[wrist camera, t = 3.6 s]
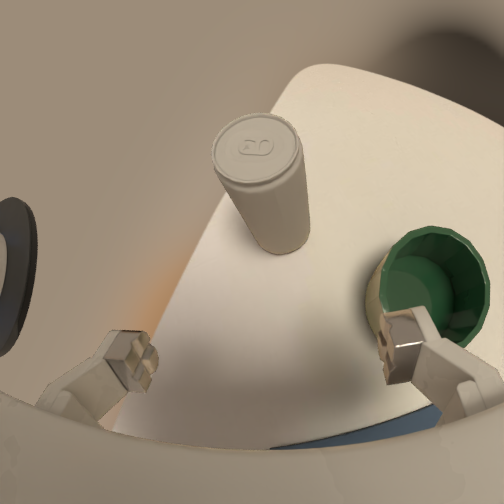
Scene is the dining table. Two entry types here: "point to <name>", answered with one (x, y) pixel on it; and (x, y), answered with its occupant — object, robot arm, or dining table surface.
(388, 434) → the mat
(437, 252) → the green round pot
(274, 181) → the beverage can
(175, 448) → the robot arm
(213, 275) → the dining table surface
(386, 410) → the dining table surface
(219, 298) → the dining table surface
